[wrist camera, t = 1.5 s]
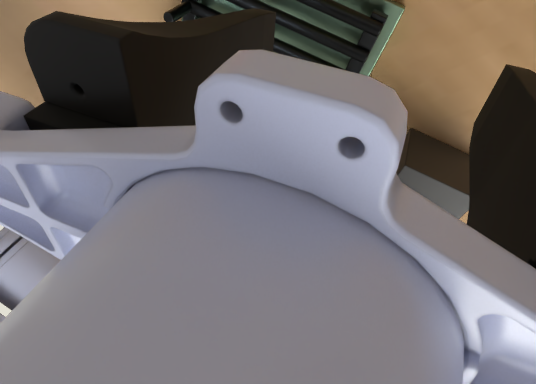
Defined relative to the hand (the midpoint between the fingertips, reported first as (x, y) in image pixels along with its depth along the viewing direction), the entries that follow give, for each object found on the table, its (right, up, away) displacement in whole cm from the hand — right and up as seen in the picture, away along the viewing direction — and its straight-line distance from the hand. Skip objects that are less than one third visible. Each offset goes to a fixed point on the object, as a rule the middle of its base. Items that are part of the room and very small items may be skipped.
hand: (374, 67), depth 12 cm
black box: (+7, -3, +13) cm, 15 cm away
